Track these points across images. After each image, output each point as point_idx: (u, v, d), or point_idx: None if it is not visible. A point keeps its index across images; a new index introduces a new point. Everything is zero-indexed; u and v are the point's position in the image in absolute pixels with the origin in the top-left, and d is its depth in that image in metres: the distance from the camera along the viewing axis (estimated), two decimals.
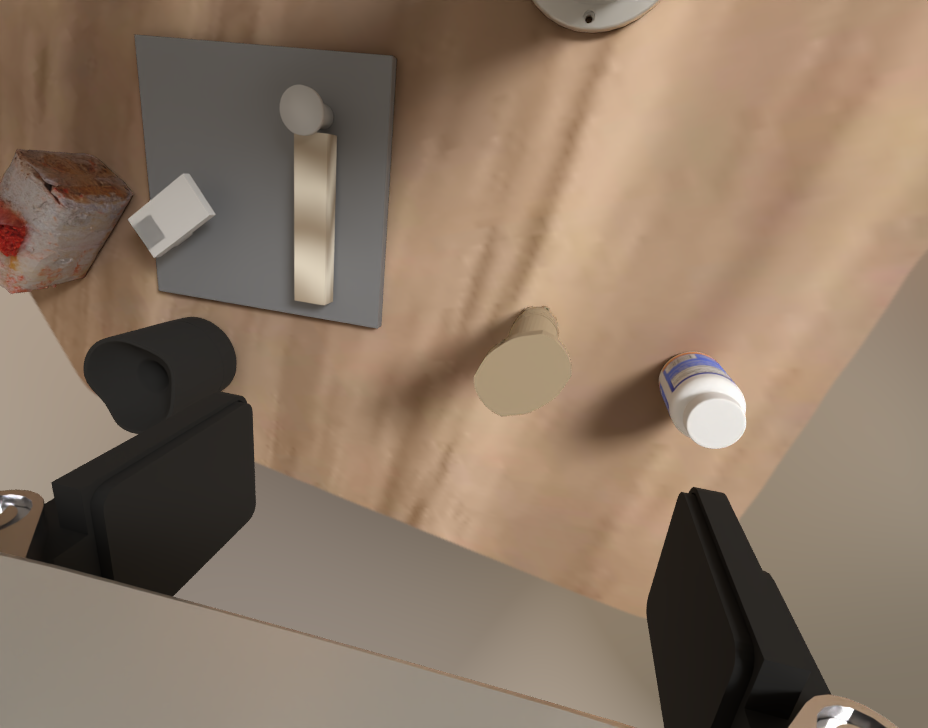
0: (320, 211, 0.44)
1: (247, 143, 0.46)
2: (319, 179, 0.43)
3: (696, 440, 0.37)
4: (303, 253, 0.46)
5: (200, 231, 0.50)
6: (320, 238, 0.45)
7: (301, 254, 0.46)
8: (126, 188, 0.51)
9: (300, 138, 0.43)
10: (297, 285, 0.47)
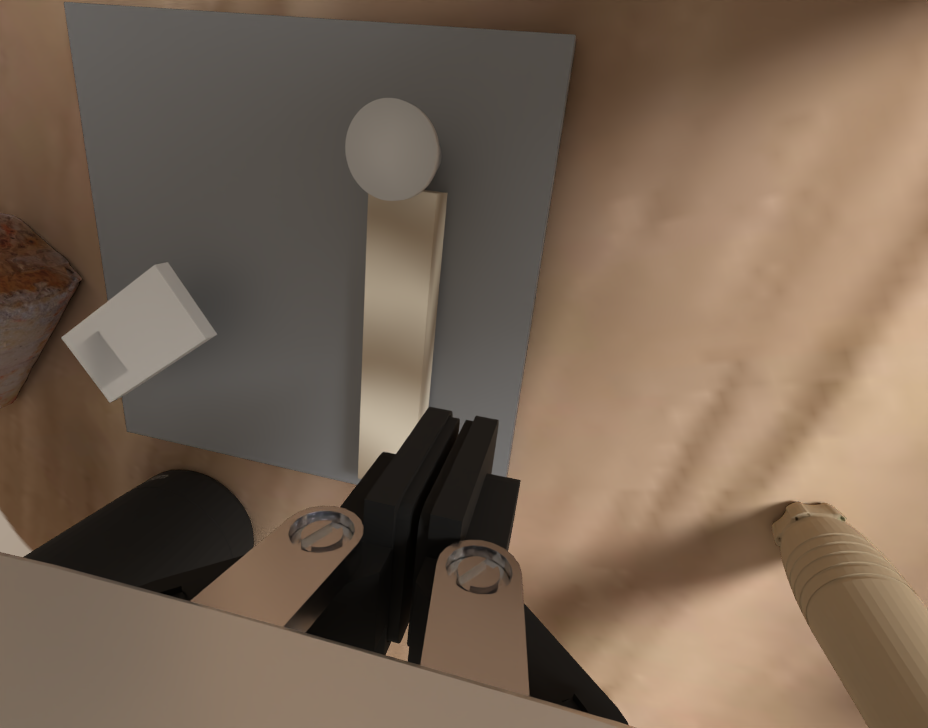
0: (414, 335, 0.23)
1: (273, 202, 0.25)
2: (415, 278, 0.22)
3: None
4: (377, 404, 0.25)
5: None
6: (411, 381, 0.24)
7: (373, 406, 0.25)
8: (69, 269, 0.30)
9: (380, 201, 0.22)
10: (364, 455, 0.26)
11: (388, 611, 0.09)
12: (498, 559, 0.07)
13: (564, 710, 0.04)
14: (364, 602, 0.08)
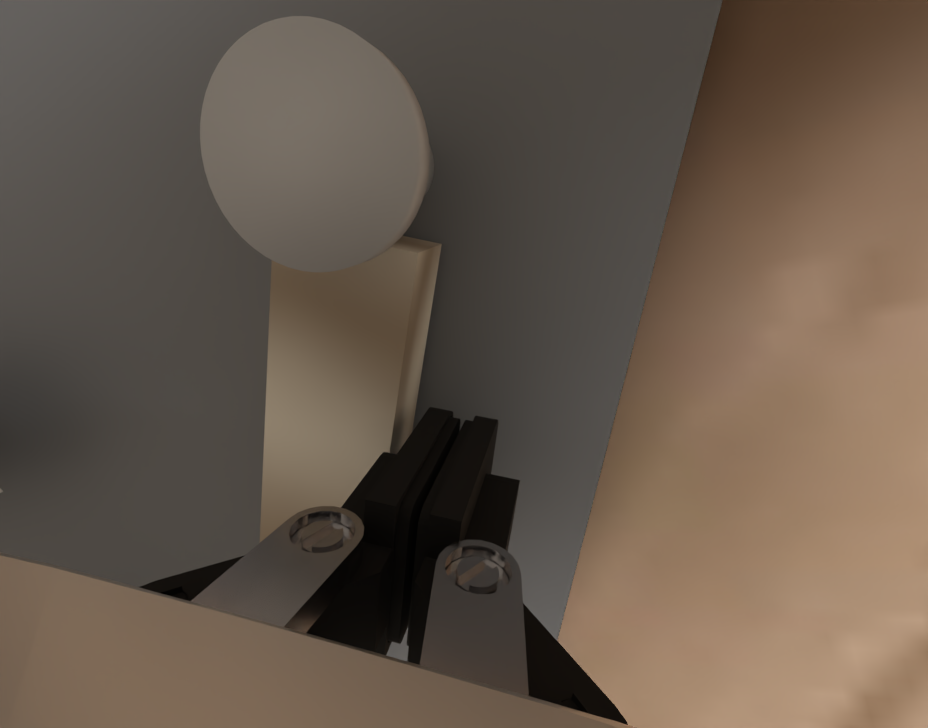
0: None
1: (118, 244, 0.13)
2: (365, 415, 0.11)
3: None
4: None
5: (6, 474, 0.17)
6: None
7: None
8: None
9: None
10: None
11: (389, 611, 0.09)
12: (497, 559, 0.07)
13: (564, 710, 0.04)
14: (365, 602, 0.08)
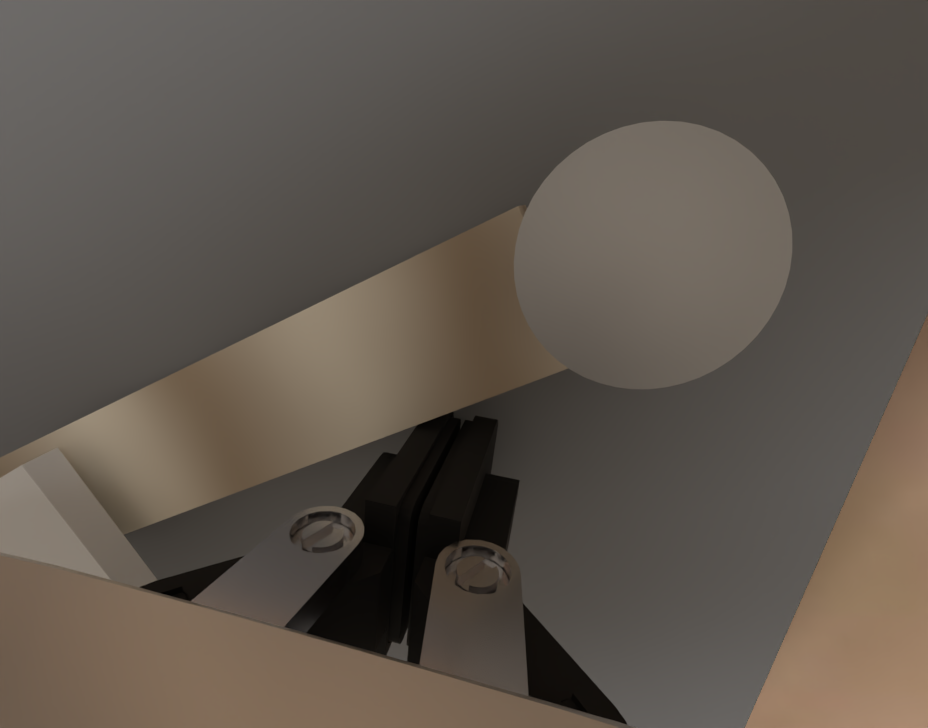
0: (295, 445, 0.11)
1: (287, 316, 0.12)
2: (396, 399, 0.10)
3: None
4: (130, 438, 0.12)
5: None
6: (216, 478, 0.12)
7: (120, 431, 0.12)
8: None
9: (499, 252, 0.09)
10: (30, 456, 0.13)
11: (389, 612, 0.09)
12: (497, 559, 0.07)
13: (564, 710, 0.04)
14: (365, 603, 0.08)
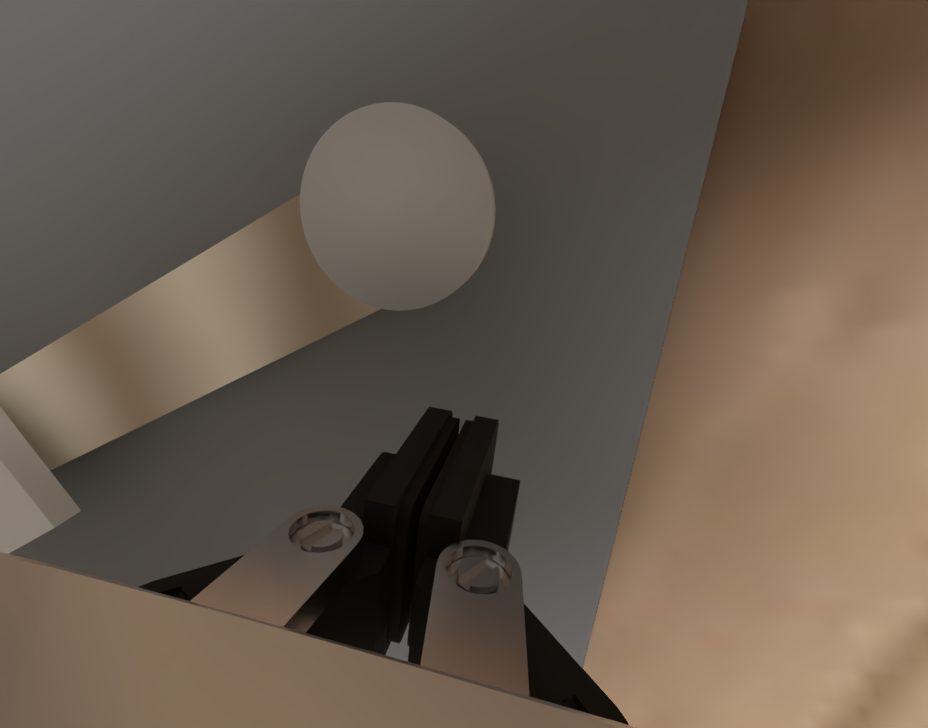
0: (182, 383, 0.13)
1: None
2: (256, 339, 0.12)
3: None
4: (50, 384, 0.14)
5: None
6: (122, 415, 0.14)
7: (42, 378, 0.14)
8: None
9: None
10: None
11: (388, 611, 0.09)
12: (498, 559, 0.07)
13: (564, 710, 0.04)
14: (364, 602, 0.08)
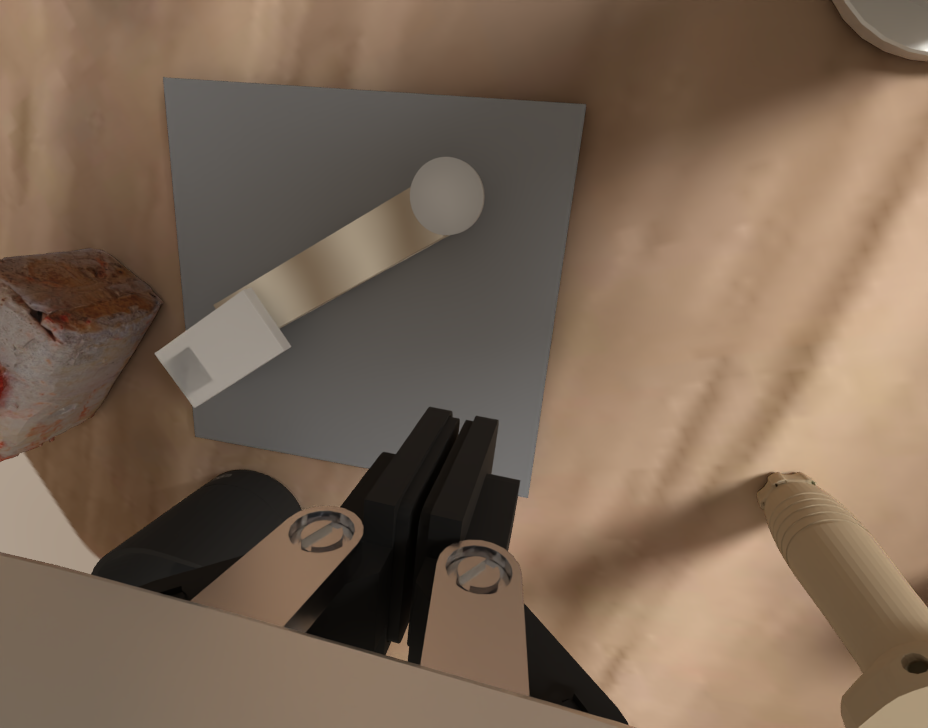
0: (343, 280, 0.29)
1: None
2: (380, 257, 0.28)
3: None
4: (277, 285, 0.30)
5: None
6: (312, 299, 0.29)
7: (273, 282, 0.30)
8: (152, 294, 0.34)
9: None
10: None
11: (388, 611, 0.09)
12: (498, 559, 0.07)
13: (564, 710, 0.04)
14: (364, 602, 0.08)
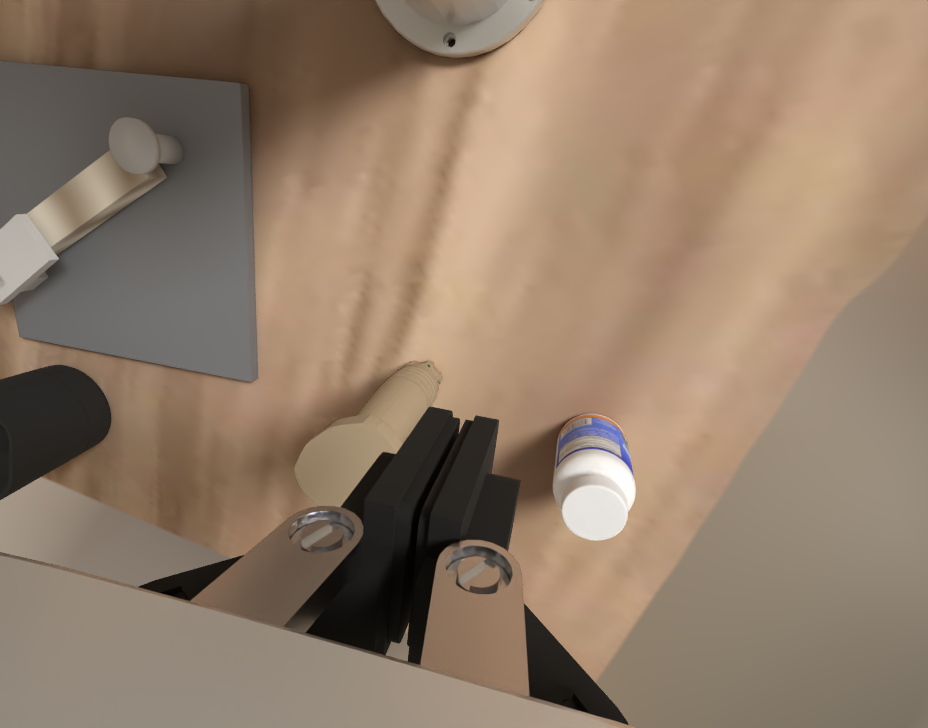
0: (90, 209, 0.40)
1: None
2: (111, 192, 0.39)
3: (573, 530, 0.32)
4: (47, 213, 0.40)
5: (56, 274, 0.45)
6: (72, 223, 0.40)
7: (44, 211, 0.40)
8: None
9: None
10: None
11: (388, 611, 0.09)
12: (498, 559, 0.07)
13: (564, 710, 0.04)
14: (364, 602, 0.08)
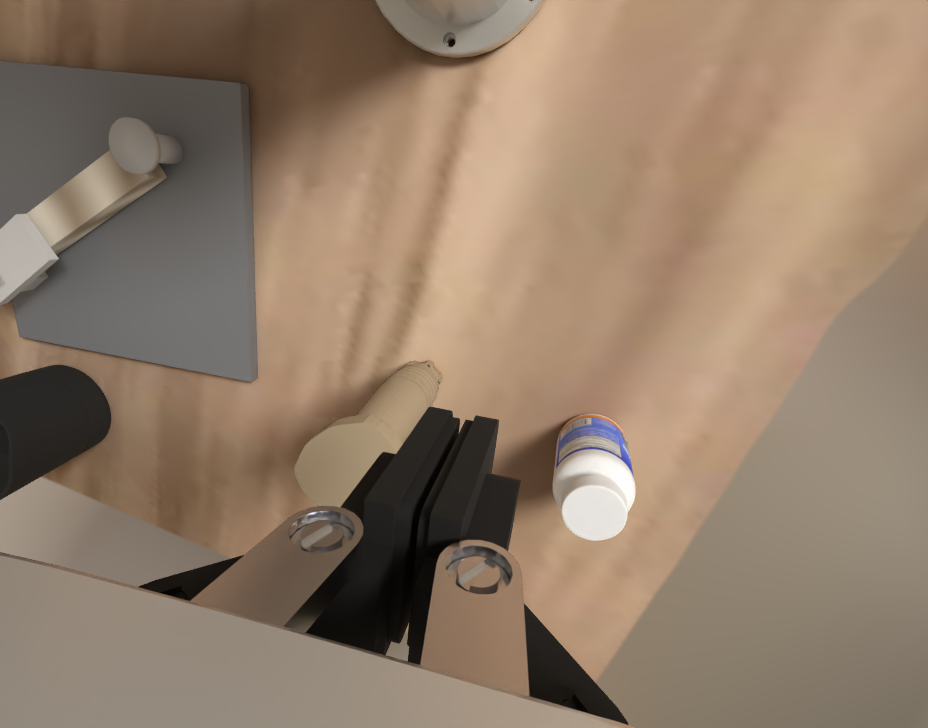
0: (90, 209, 0.39)
1: None
2: (111, 192, 0.39)
3: (573, 530, 0.32)
4: (47, 213, 0.40)
5: (55, 274, 0.45)
6: (72, 223, 0.40)
7: (44, 211, 0.40)
8: None
9: None
10: None
11: (388, 611, 0.09)
12: (498, 559, 0.07)
13: (564, 710, 0.04)
14: (364, 602, 0.08)
